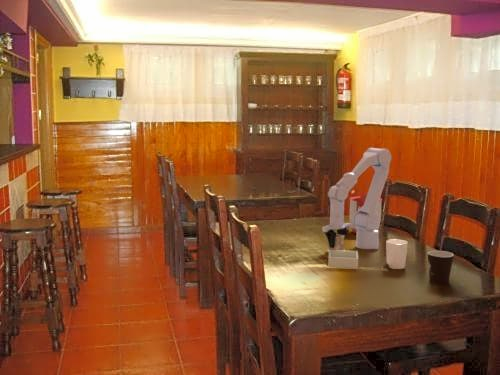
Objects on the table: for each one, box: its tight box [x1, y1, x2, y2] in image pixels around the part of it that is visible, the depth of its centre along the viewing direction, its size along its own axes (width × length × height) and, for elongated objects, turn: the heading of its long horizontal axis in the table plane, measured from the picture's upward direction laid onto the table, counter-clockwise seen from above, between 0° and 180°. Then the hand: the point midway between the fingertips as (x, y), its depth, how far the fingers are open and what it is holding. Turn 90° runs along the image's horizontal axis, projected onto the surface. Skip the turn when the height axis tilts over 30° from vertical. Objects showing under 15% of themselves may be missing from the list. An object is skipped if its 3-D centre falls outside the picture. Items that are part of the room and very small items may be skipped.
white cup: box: [385, 238, 409, 270], centre depth 205 cm, size 8×8×10 cm
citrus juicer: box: [349, 192, 383, 234], centre depth 260 cm, size 16×17×20 cm
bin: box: [327, 250, 359, 270], centre depth 209 cm, size 11×11×4 cm
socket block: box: [327, 232, 345, 251], centre depth 223 cm, size 5×5×6 cm
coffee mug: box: [427, 250, 455, 285], centre depth 189 cm, size 12×9×10 cm
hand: (336, 246), depth 224 cm, fingers closed on socket block, 5 cm apart
